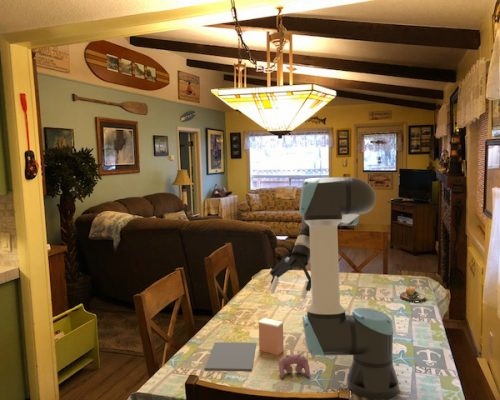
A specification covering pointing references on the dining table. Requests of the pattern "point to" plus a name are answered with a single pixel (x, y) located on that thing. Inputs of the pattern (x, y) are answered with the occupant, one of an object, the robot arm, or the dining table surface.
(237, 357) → the mat
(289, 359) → the video game controller
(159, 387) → the dining table surface
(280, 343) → the block
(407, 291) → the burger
